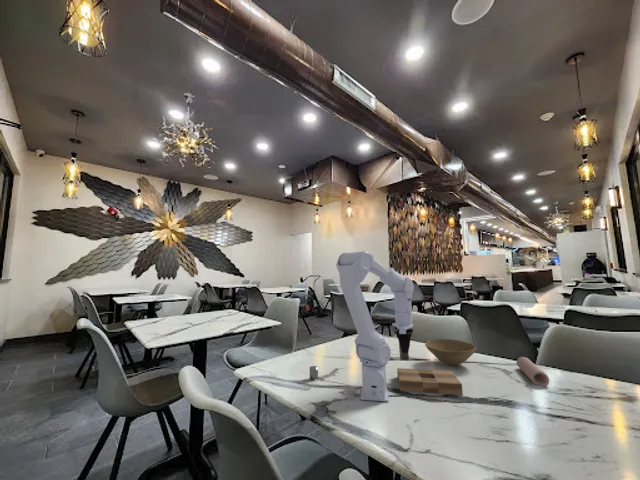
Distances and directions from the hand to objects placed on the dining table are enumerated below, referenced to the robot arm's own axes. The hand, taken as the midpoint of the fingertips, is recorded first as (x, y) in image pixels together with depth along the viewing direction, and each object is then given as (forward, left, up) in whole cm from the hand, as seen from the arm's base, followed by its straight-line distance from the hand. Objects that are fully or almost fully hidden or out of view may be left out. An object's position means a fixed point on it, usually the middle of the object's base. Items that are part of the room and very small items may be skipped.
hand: (405, 351), depth 97 cm
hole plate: (-4, -6, -9) cm, 12 cm away
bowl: (+19, -19, -10) cm, 28 cm away
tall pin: (0, +1, -2) cm, 3 cm away
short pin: (-4, +32, -10) cm, 34 cm away
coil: (+9, -43, -10) cm, 45 cm away
